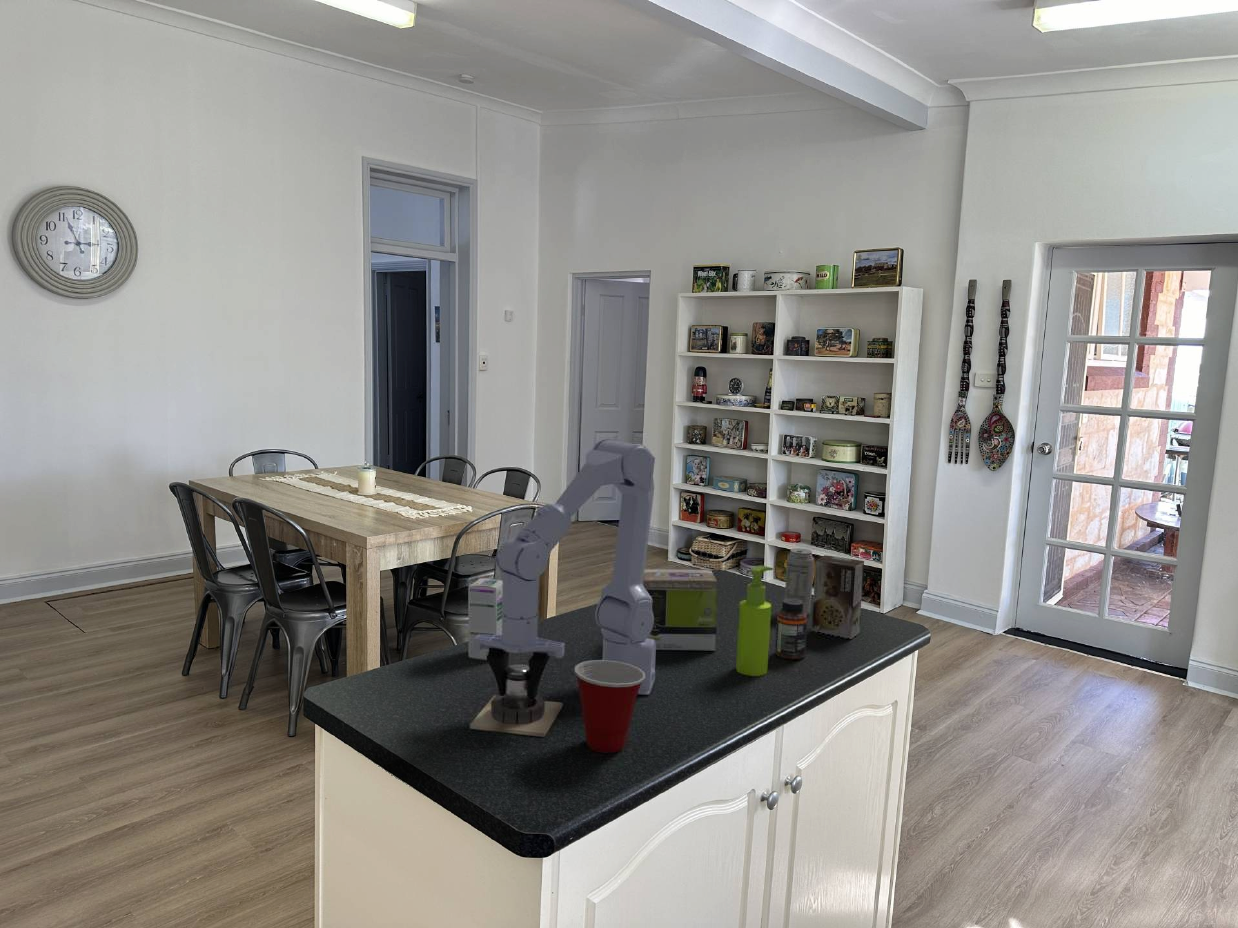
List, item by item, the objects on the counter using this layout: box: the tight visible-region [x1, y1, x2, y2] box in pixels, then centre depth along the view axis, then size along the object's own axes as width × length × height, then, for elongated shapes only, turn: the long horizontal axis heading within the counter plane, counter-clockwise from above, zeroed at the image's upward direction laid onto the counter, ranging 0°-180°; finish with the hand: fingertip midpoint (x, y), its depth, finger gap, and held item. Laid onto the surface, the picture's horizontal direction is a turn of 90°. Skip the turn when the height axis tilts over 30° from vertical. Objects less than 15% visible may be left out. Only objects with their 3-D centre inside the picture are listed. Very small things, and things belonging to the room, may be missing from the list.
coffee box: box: [811, 554, 865, 640], centre depth 191 cm, size 9×6×16 cm
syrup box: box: [467, 577, 503, 661], centre depth 170 cm, size 6×6×14 cm
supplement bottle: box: [774, 598, 808, 661], centre depth 176 cm, size 6×6×11 cm
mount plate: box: [469, 694, 563, 738], centre depth 143 cm, size 12×12×3 cm
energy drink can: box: [784, 548, 815, 616], centre depth 204 cm, size 6×6×15 cm
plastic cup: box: [574, 659, 645, 754], centre depth 134 cm, size 11×11×12 cm
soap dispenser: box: [735, 565, 774, 677], centre depth 167 cm, size 6×7×20 cm
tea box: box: [643, 568, 719, 652], centre depth 180 cm, size 15×10×15 cm, turn 92°
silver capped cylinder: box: [504, 663, 532, 710], centre depth 142 cm, size 4×4×6 cm
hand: (518, 695), depth 143 cm, fingers closed on silver capped cylinder, 4 cm apart
